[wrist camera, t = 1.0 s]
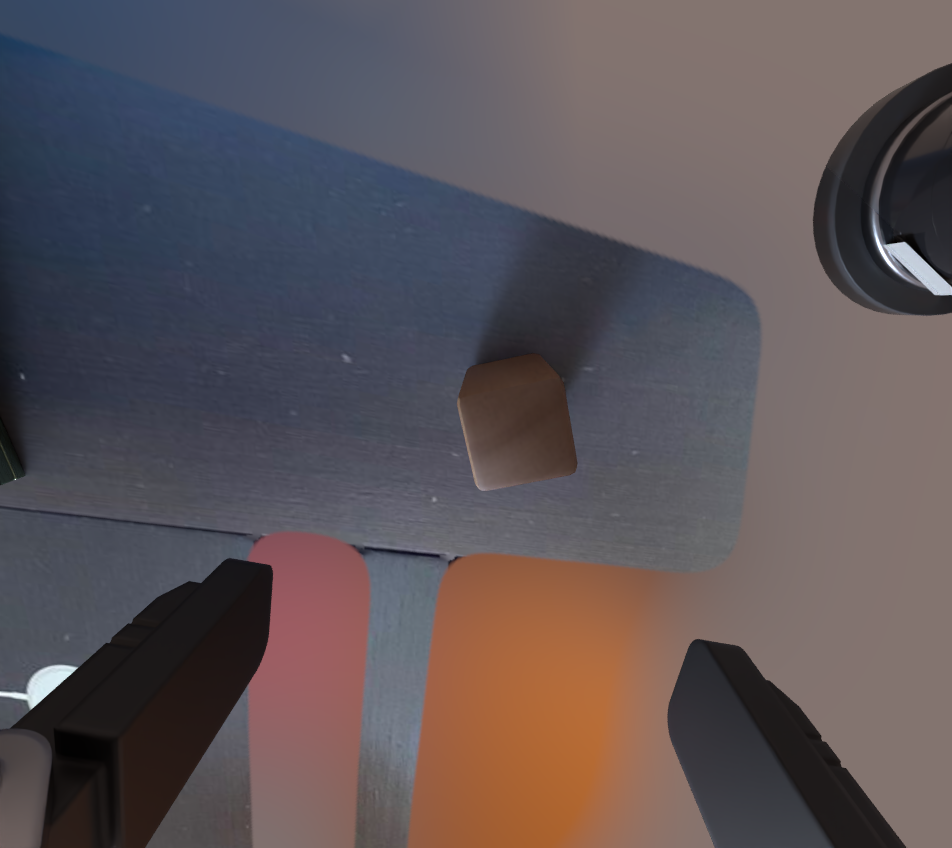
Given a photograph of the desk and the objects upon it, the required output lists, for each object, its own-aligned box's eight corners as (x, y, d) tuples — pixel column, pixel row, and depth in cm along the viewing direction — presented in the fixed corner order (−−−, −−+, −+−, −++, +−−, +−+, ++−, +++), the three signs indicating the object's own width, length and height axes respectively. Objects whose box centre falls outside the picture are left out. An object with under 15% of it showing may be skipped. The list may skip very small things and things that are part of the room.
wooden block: (552, 423, 25) (581, 477, 17) (480, 437, 26) (477, 496, 18) (539, 350, 24) (563, 373, 17) (465, 366, 25) (453, 396, 17)
